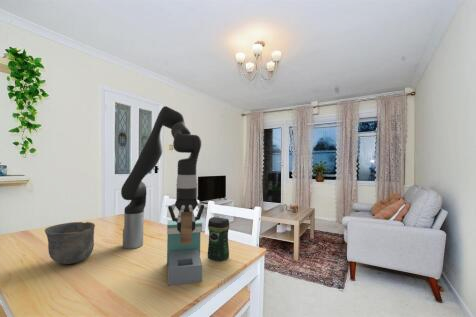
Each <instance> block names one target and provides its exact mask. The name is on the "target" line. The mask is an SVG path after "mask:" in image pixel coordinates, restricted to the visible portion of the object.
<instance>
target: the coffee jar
mask: <svg viewBox="0 0 476 317" xmlns="http://www.w3.org/2000/svg"><path fill="white" fill-rule="evenodd" d="M207 228H208V229H207V230H208V245H207V258H208V259H209V260H211V261H213V262H219V263H221V262H225V261H227V260H229V258H230V248H229V229H230V219H228V218H224V217H219V216H213V217H210V218H208V223H207Z"/></svg>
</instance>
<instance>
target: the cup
mask: <svg viewBox="0 0 476 317" xmlns="http://www.w3.org/2000/svg"><path fill="white" fill-rule="evenodd" d="M95 227H96V225H95V222H89V221H87V222H83V221H78V222H77V221H74V222H67V223H66V222H65V223H60V224H55V225H52V226H48V227H46V228H45V229H44V233H45V235H46V238H47V244H48V246H47V249H48V250H47V251H48V255H49V257H50V259H51V260H52V261H53V262H56V263H58V264H61V265H74V264H77V263H78V264H79V262H82V261H85V260H86V259H87V258H89V257H90V256H91V254H92V253H93V252H94V247H95V243H94V242H95V240H94V239H95V238H94V237H95V229H96V228H95Z"/></svg>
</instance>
